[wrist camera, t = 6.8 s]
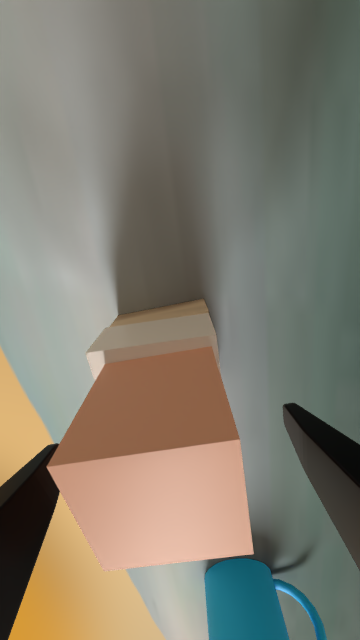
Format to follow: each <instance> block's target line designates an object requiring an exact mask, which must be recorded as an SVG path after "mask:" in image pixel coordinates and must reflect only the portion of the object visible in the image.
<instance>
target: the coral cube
mask: <svg viewBox="0 0 360 640" xmlns="http://www.w3.org/2000/svg"><path fill="white" fill-rule="evenodd" d="M47 469H48V471H49V472H50V474H51V476H52V478H53V480H54V481H55V483H56V485H57V487H58V489H59V491H60V492H61V494H62V496H63V498H64V500H65V501H66V503H67V505H68V507H69V508H70V510H71V512H72V514H73V516H74V518H75V519H76V521H77V523H78V525H79V527H80V529H81V530H82V532H83V534H84V536H85V538H86V539H87V541H88V543H89V545H90V547H91V548H92V550H93V552H94V554H95V556H96V558H97V559H98V561H99V563H100V565H101V567H102V568H103V570H104V571H110V570H119V569H128V568H137V567H145V566H154V565H163V564H171V563H180V562H189V561H198V560H206V559H215V558H224V557H232V556H241V555H250V554H254V552H253V544H252V535H251V527H250V519H249V511H248V502H247V494H246V486H245V478H244V469H243V461H242V453H241V445H240V438H239V435H238V432H237V428H236V425H235V422H234V418H233V415H232V412H231V408H230V405H229V402H228V399H227V395H226V392H225V389H224V385H223V382H222V379H221V376H220V372H219V369H218V366H217V362H216V359H215V356H214V352H213V349H212V346H210V347H204V348H198V349H192V350H186V351H180V352H174V353H168V354H162V355H156V356H150V357H144V358H138V359H132V360H126V361H120V362H114V363H108V364H105V365H104V367H103V368H102V370H101V372H100V374H99V375H98V377H97V379H96V381H95V382H94V384H93V386H92V388H91V390H90V391H89V393H88V395H87V397H86V398H85V400H84V402H83V404H82V405H81V407H80V409H79V411H78V412H77V414H76V416H75V418H74V420H73V421H72V423H71V425H70V427H69V428H68V430H67V432H66V434H65V435H64V437H63V439H62V441H61V442H60V444H59V446H58V448H57V449H56V451H55V453H54V455H53V457H52V458H51V460H50V462H49V464H48V465H47Z"/></svg>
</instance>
